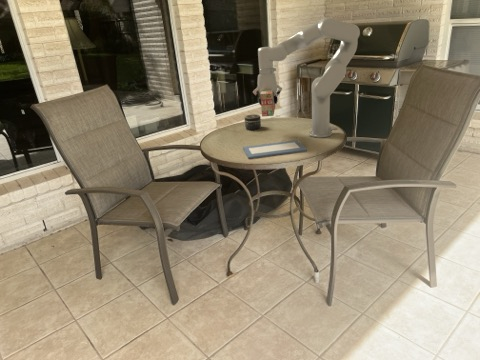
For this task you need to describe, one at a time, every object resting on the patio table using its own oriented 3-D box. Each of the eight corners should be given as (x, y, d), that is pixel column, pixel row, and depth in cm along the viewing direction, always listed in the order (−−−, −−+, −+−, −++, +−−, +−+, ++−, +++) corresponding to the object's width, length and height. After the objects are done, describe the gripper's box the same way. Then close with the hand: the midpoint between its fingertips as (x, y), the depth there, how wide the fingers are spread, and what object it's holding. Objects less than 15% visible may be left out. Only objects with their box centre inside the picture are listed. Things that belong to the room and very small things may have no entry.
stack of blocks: (264, 107, 216) (263, 85, 211) (275, 106, 215) (274, 85, 210) (261, 116, 197) (260, 93, 192) (273, 115, 196) (272, 92, 191)
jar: (255, 125, 237) (254, 113, 234) (264, 128, 229) (263, 116, 226) (242, 128, 233) (241, 116, 230) (250, 131, 225) (249, 119, 222)
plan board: (297, 141, 200) (297, 139, 200) (306, 151, 186) (306, 149, 185) (242, 148, 197) (242, 146, 196) (248, 158, 182) (248, 156, 182)
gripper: (280, 68, 201) (281, 101, 208) (249, 72, 199) (251, 105, 206) (284, 70, 194) (285, 103, 201) (251, 74, 192) (254, 107, 199)
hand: (268, 104), depth 204 cm, fingers closed on stack of blocks, 7 cm apart
